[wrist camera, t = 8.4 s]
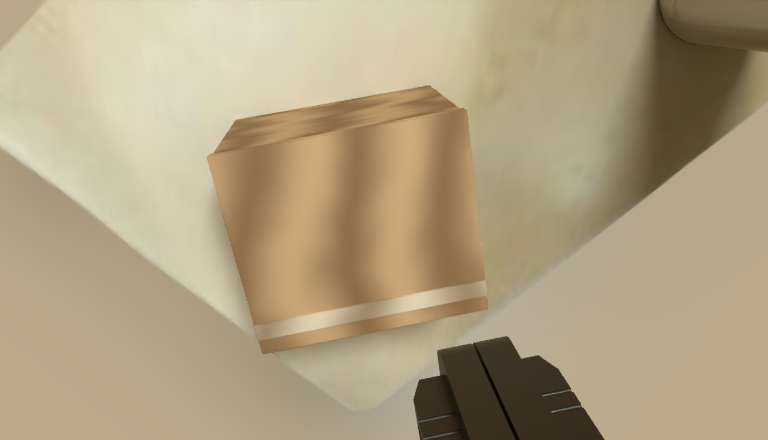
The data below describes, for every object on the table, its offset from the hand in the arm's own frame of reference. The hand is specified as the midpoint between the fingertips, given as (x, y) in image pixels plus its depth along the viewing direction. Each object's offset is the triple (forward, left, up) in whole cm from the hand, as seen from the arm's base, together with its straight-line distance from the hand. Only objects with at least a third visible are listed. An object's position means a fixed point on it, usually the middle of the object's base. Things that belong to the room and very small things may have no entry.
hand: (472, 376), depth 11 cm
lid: (+2, +7, -24) cm, 26 cm away
